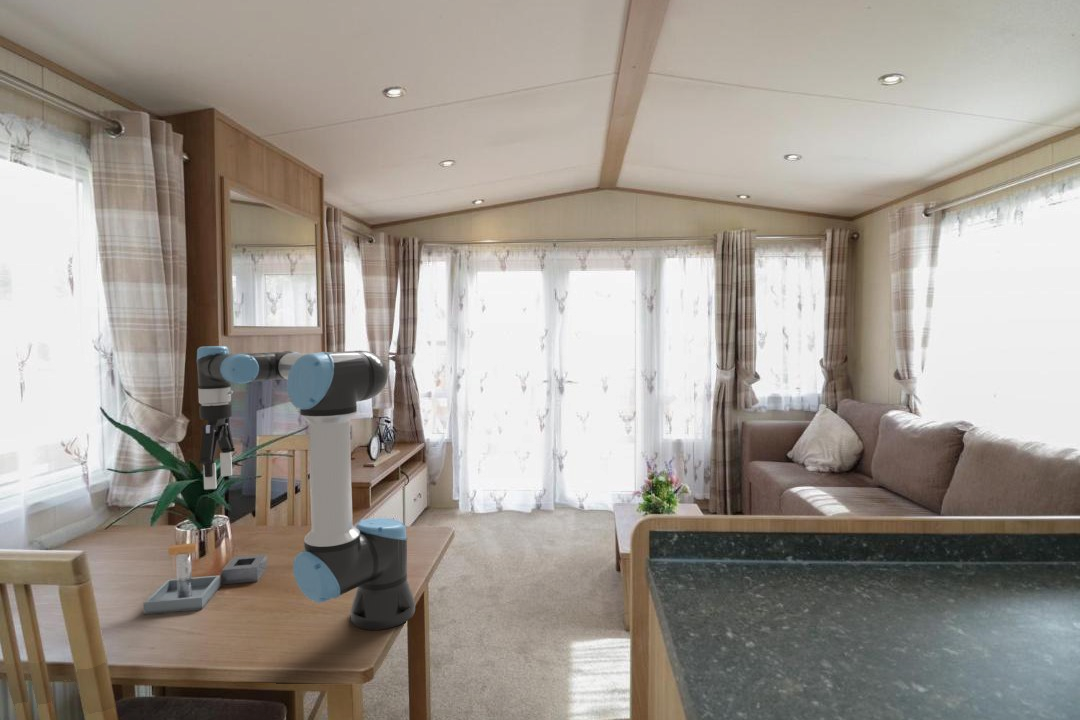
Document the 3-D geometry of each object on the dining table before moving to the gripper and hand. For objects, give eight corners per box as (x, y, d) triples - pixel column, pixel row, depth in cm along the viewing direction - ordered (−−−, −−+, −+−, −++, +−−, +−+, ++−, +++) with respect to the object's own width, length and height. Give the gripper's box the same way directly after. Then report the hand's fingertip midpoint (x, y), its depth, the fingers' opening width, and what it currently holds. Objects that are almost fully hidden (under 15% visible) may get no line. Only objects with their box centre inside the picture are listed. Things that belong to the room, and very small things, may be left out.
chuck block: (257, 581, 156) (257, 567, 156) (222, 584, 154) (221, 570, 154) (266, 567, 165) (266, 554, 165) (233, 570, 163) (232, 557, 163)
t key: (169, 602, 143) (167, 549, 142) (173, 595, 146) (171, 544, 145) (196, 598, 145) (194, 546, 144) (199, 592, 148) (197, 541, 147)
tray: (202, 609, 141) (201, 597, 141) (144, 614, 138) (143, 602, 138) (221, 585, 153) (220, 575, 153) (168, 590, 151) (167, 579, 151)
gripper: (215, 409, 140) (219, 493, 141) (243, 397, 164) (246, 470, 165) (181, 410, 138) (186, 496, 139) (215, 399, 162) (218, 471, 164)
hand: (218, 482), depth 152 cm, fingers open, 13 cm apart
